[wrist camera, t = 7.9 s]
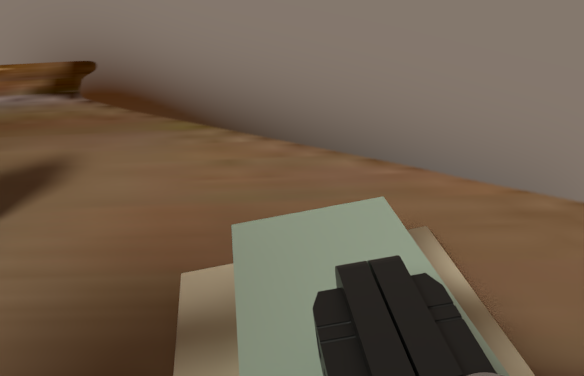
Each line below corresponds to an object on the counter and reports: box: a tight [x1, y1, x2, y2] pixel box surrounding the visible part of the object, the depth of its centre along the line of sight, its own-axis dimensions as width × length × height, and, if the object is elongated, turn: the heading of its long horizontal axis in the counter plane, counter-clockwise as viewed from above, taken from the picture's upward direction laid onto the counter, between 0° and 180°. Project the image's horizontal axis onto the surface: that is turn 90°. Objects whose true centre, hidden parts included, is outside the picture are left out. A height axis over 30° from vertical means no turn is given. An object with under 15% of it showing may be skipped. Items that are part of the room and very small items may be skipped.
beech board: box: [173, 226, 535, 376], centre depth 19 cm, size 11×12×1 cm
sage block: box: [231, 197, 509, 376], centre depth 16 cm, size 4×6×10 cm
